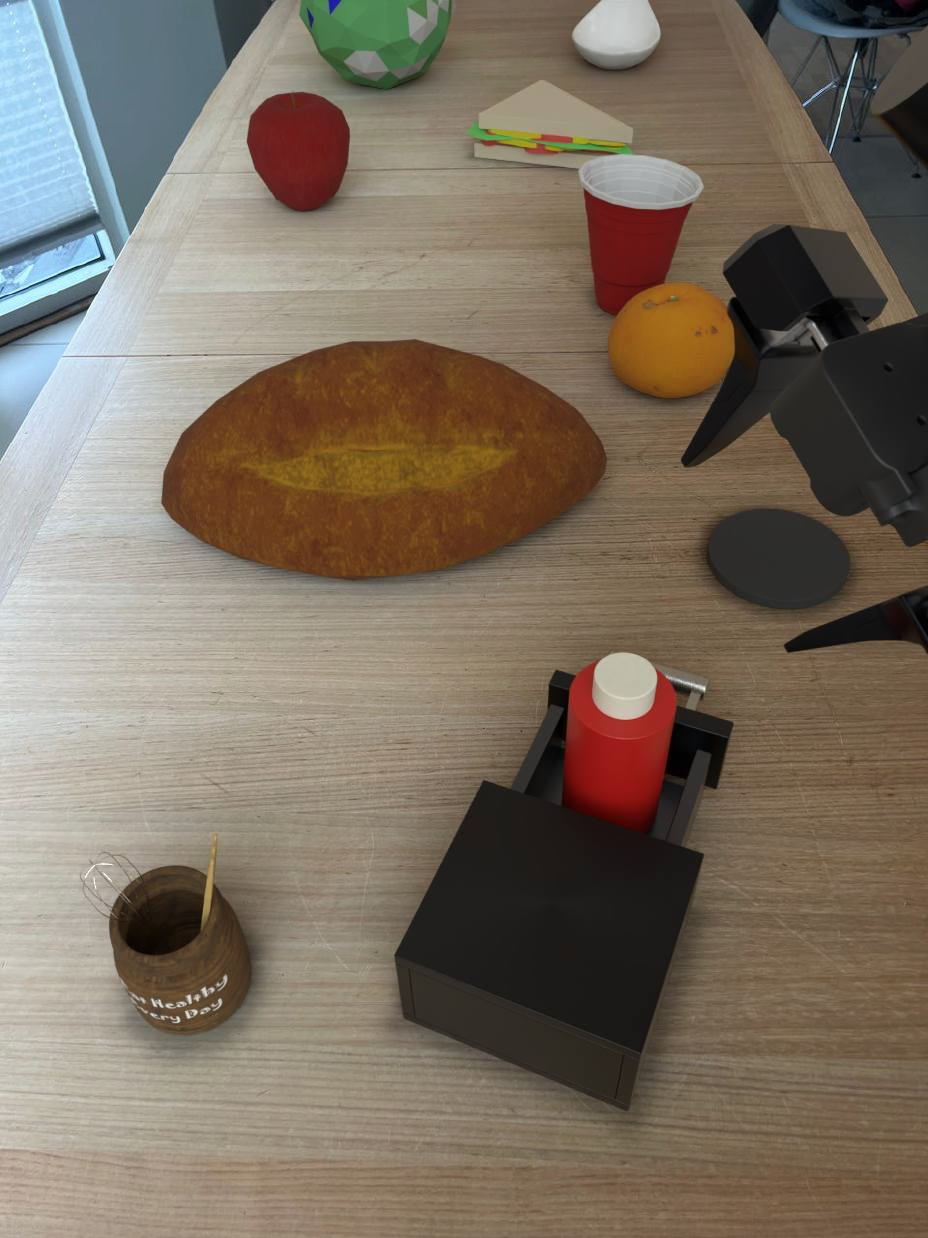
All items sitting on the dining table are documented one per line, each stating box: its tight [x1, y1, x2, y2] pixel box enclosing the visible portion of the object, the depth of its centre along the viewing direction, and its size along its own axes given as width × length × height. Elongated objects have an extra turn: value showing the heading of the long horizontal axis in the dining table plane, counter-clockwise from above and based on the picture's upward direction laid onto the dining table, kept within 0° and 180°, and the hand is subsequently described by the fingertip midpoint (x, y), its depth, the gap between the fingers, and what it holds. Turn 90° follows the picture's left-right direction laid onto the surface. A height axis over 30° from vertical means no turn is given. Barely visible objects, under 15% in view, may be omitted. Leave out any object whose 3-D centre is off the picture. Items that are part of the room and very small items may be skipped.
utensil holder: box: [79, 832, 252, 1037], centre depth 49 cm, size 6×6×12 cm
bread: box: [160, 338, 608, 582], centre depth 76 cm, size 21×33×12 cm, turn 92°
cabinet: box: [393, 779, 705, 1112], centre depth 51 cm, size 10×11×6 cm
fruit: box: [607, 281, 735, 399], centre depth 88 cm, size 10×10×8 cm
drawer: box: [509, 649, 735, 848], centre depth 59 cm, size 14×10×5 cm
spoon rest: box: [571, 0, 662, 71], centre depth 147 cm, size 24×12×7 cm, turn 167°
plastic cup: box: [577, 154, 705, 316], centre depth 96 cm, size 11×11×12 cm
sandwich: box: [465, 79, 635, 170], centre depth 122 cm, size 15×20×5 cm
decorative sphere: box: [298, 0, 457, 90], centre depth 136 cm, size 19×20×20 cm
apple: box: [246, 91, 351, 213], centre depth 113 cm, size 11×11×12 cm
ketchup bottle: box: [562, 652, 678, 834], centre depth 54 cm, size 5×5×11 cm
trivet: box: [706, 508, 851, 610], centre depth 74 cm, size 10×10×1 cm
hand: (737, 553), depth 46 cm, fingers open, 9 cm apart
